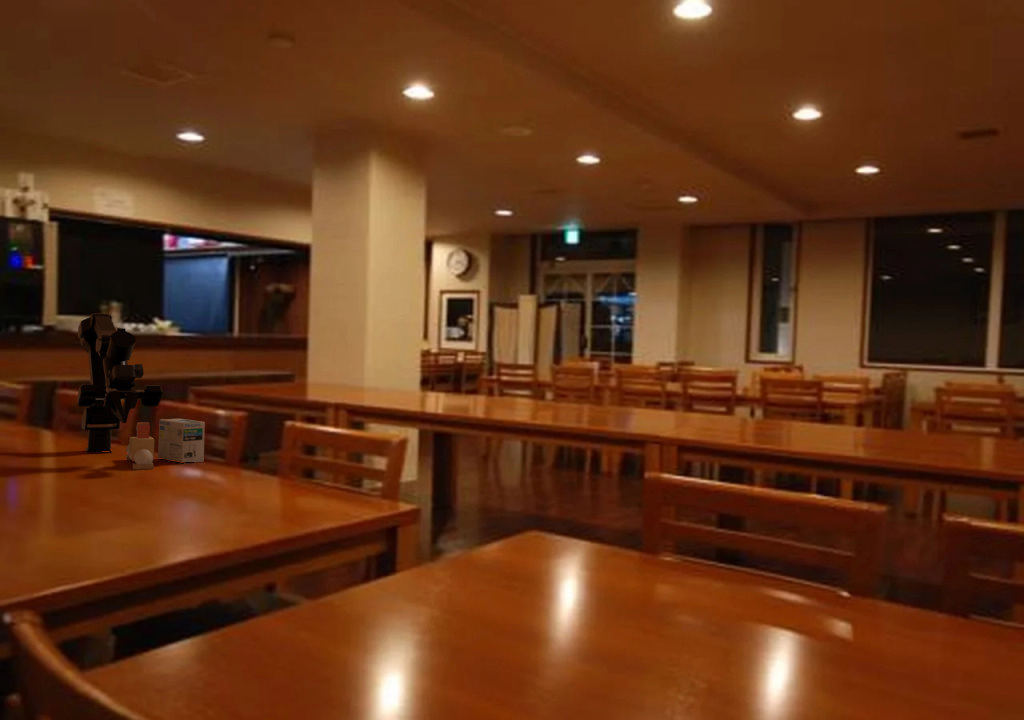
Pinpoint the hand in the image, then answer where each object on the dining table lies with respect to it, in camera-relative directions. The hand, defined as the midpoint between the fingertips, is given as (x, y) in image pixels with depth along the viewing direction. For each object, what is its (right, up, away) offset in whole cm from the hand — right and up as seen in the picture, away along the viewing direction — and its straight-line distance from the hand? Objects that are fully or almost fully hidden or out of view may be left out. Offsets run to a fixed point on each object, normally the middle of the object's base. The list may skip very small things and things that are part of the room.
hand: (124, 422), depth 199 cm
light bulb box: (+7, -12, +15) cm, 21 cm away
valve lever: (+5, -3, -1) cm, 6 cm away
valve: (0, -11, +7) cm, 13 cm away
